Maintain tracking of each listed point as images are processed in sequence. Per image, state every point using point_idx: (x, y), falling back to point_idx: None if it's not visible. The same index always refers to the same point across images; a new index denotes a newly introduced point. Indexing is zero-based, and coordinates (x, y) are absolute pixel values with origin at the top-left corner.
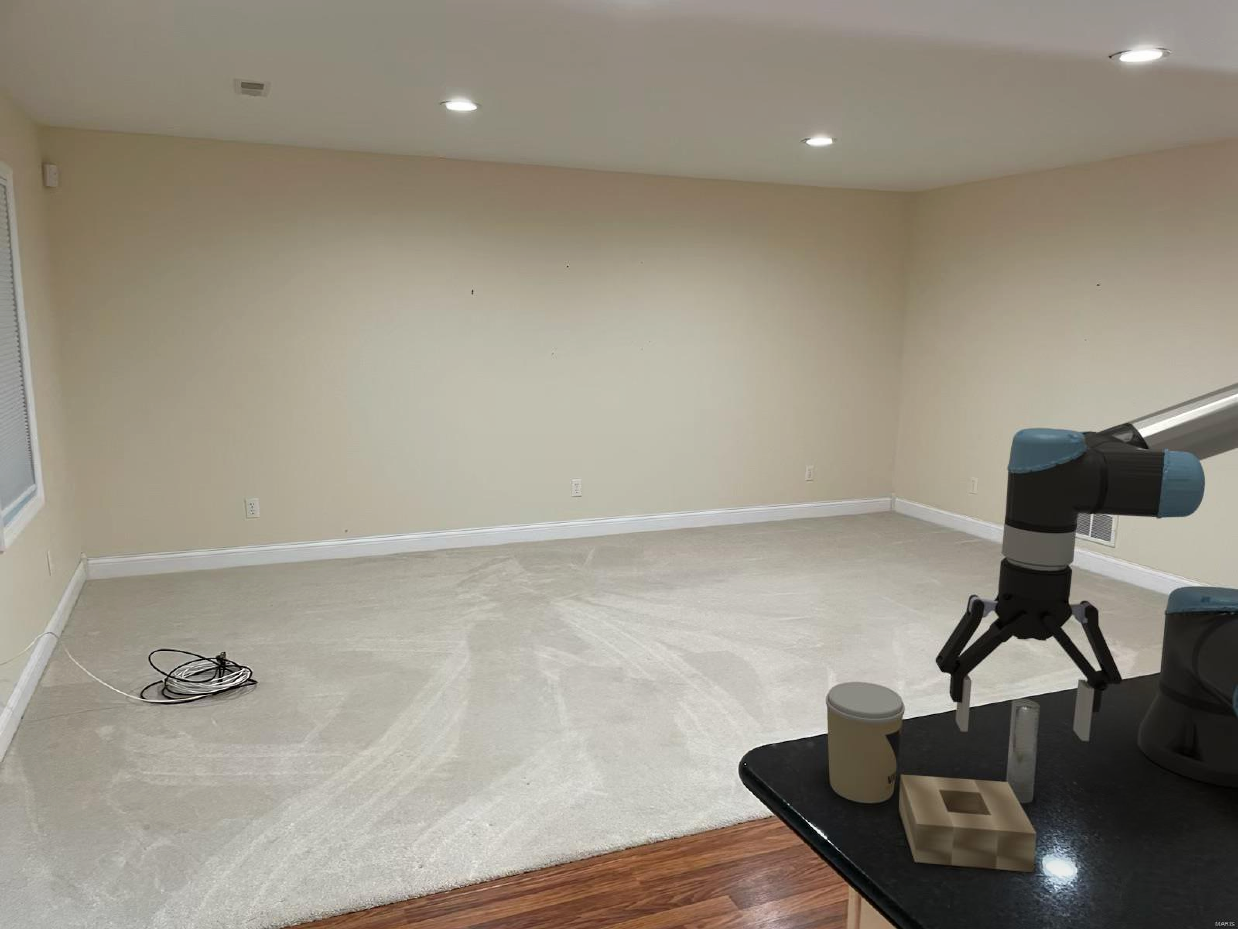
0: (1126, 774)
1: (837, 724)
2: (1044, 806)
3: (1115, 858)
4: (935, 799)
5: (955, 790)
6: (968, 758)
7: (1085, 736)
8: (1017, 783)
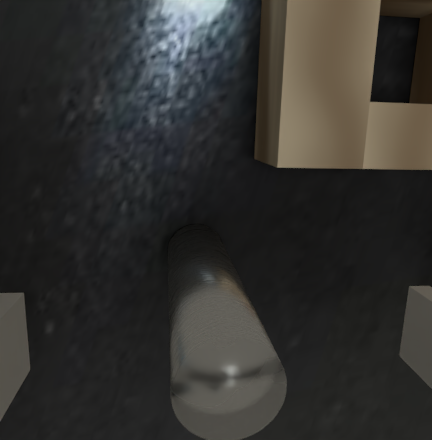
0: None
1: None
2: (151, 218)
3: (57, 19)
4: None
5: (429, 105)
6: None
7: (4, 300)
8: (214, 239)
